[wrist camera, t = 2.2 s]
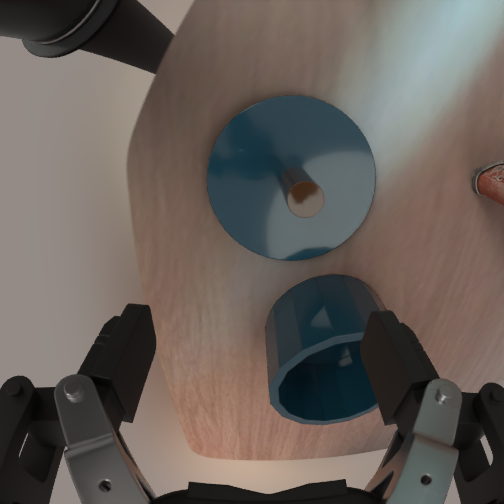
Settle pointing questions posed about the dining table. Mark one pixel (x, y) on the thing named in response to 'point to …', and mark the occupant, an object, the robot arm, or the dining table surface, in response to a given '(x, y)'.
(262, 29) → the dining table surface
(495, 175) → the lighter
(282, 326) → the pot
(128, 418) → the robot arm
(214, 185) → the pot lid
